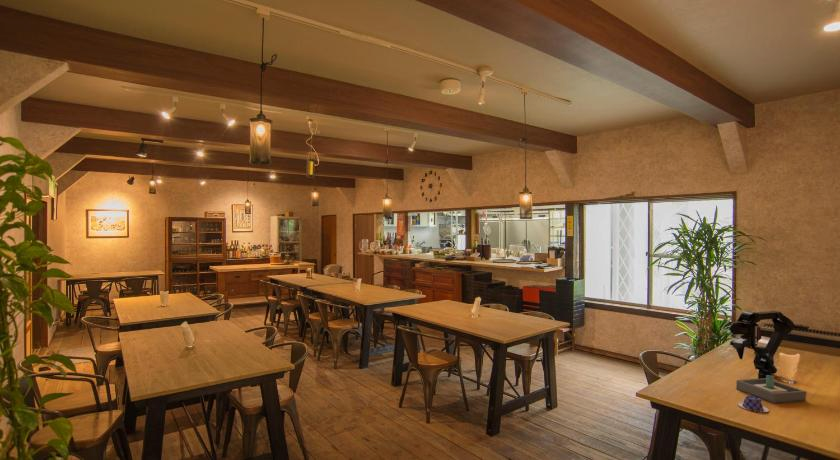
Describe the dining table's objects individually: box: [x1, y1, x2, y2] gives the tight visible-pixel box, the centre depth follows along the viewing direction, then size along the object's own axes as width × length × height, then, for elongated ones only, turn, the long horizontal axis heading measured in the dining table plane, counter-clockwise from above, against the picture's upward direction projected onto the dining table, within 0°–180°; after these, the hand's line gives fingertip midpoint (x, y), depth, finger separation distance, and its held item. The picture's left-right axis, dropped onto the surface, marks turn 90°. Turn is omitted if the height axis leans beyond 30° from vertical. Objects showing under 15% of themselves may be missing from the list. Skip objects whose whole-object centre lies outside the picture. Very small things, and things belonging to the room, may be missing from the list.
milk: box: [756, 335, 776, 373], centre depth 261 cm, size 6×6×22 cm
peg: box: [766, 375, 775, 389], centre depth 226 cm, size 3×3×9 cm
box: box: [735, 378, 807, 405], centre depth 226 cm, size 20×20×5 cm
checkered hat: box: [737, 395, 770, 413], centre depth 209 cm, size 12×12×5 cm
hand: (748, 361), depth 244 cm, fingers open, 9 cm apart
